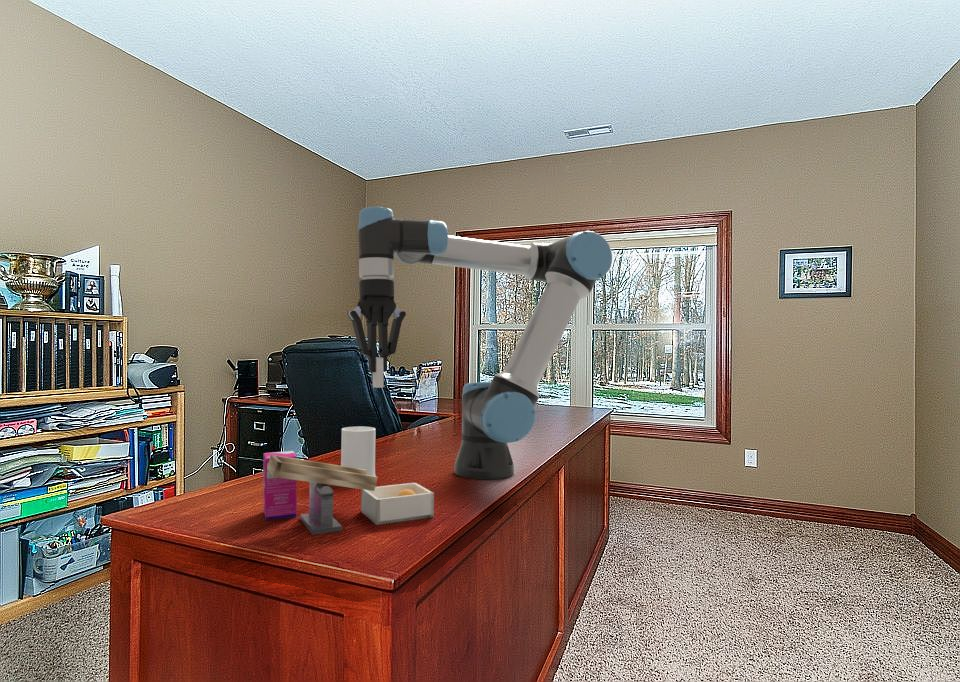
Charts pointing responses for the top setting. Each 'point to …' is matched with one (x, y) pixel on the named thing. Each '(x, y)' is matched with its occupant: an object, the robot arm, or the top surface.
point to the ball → (406, 492)
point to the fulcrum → (320, 510)
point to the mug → (358, 448)
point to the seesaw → (320, 473)
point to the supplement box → (278, 491)
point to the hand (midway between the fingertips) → (378, 387)
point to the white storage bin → (397, 503)
